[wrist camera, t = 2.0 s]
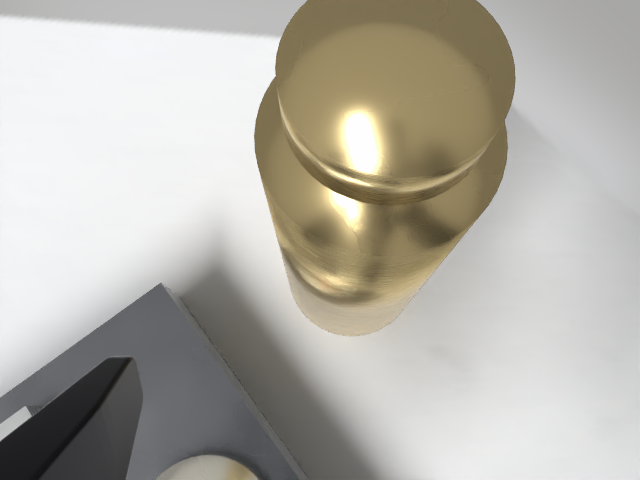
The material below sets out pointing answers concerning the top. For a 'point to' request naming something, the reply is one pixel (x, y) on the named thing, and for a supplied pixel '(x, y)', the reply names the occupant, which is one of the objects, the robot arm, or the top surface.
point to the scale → (168, 398)
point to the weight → (380, 148)
